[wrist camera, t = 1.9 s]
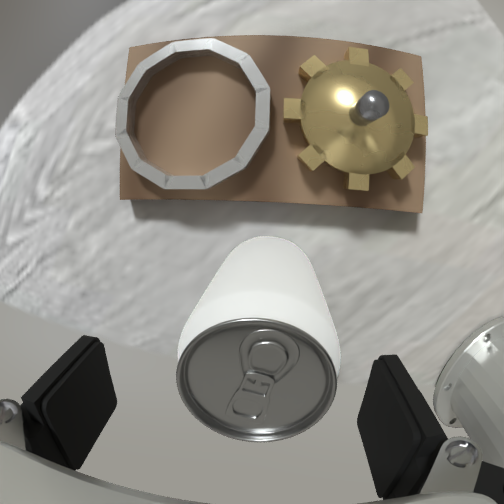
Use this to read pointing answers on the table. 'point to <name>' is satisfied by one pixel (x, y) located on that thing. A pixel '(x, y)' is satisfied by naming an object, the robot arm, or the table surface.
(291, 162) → the gear board
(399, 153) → the gear
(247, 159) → the ring
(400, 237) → the table surface
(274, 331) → the can
